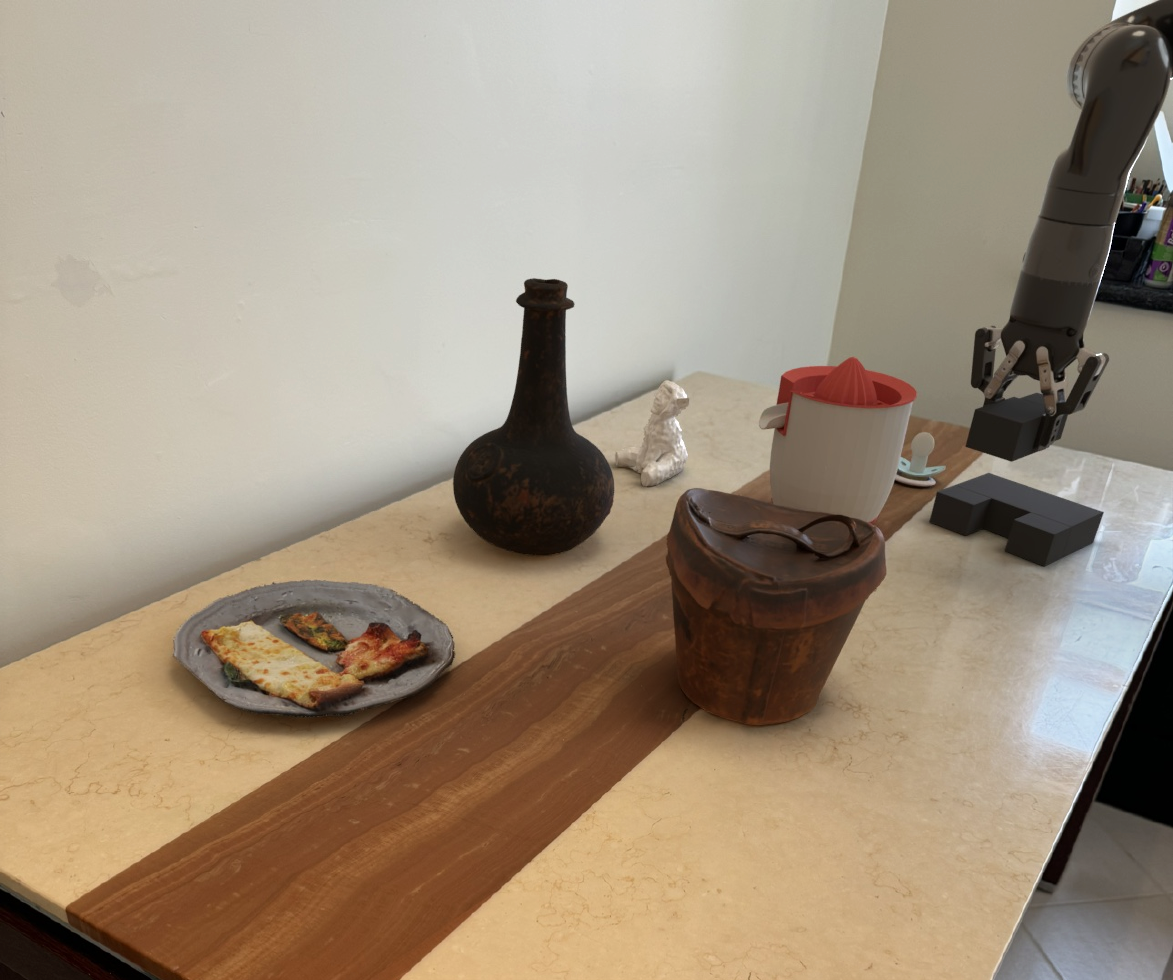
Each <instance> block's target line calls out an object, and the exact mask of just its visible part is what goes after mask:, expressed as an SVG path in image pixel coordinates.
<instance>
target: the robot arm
mask: <svg viewBox="0 0 1173 980" xmlns="http://www.w3.org/2000/svg"><path fill="white" fill-rule="evenodd" d="M1172 79H1173V0H1155V1H1152V2H1151V3H1148V4H1146V5H1144V6H1141V7H1138V8H1137V9H1135V10H1133V11H1130V12H1128V13H1125V14H1124V15H1121V16H1120V17H1119V16H1118V17H1117V18H1115V19H1113V20H1111V21H1110V22H1108V23H1106V24H1104V25H1102V26H1101V27H1099V28H1098V29H1096V30H1094V31H1093V32H1091V34H1089V35H1088V36H1087V37H1086V38H1085V39H1084V40H1083V41H1082V42H1081V43H1080V44H1079V45H1078V46H1077V49H1076V50H1075V51H1074V53H1073V55H1072V56H1071V58H1070V61H1069V63H1068V66H1067V70H1066V76H1065V86H1066V87H1065V88H1066V91H1067V95H1068V96H1069V99H1070V100H1071V102H1072V103H1073V104H1074V105H1075V106H1076V107H1077V108H1078V109H1079V110H1081V111H1080V114H1079V117H1078V120H1077V123H1076V125H1075V129H1074V131H1073V135H1072V137H1071V140H1070V142H1069V144H1068V146H1067V147H1066V148H1065V149H1063V150H1061V152H1059V154H1058V155H1057V156H1056V158H1055V159H1054V161H1053V164H1052V166H1051V169H1050V172H1049V174H1048V178H1047V182H1046V185H1045V189H1044V193H1043V197H1042V201H1041V204H1040V208H1039V212H1038V215H1037V219H1036V221H1035V224H1034V227H1033V229H1032V231H1031V234H1030V237H1029V239H1028V243H1027V246H1026V249H1025V253H1024V254H1023V257H1022V264H1021V269H1020V273H1019V276H1018V279H1017V284H1016V287H1015V291H1014V294H1013V298H1012V302H1011V307H1010V311H1009V319H1008V321H1007V323H1006V324H1005V325H1004V326H1003V327H997V326H996V325H988V326H984V327H981V328H978V329H976V331H975V333H974V341H973V353H972V354H973V355H972V363H971V376H970V386H971V387H972V388H973V389H978V390H979V391H980V392H982V394H983V395H984V401H983V404H982V407H984V406H987V405H990V404H993V403H996V402H999V401H1002V400H1005V399H1006V397H1003V396H1004V394H1005V393H1006V392H1007V391H1008V389H1009V388H1010V386H1011V385H1012V383H1013V382H1014V381H1015V380H1016V379H1017V378H1018V377H1020V376H1021V377H1022V376H1028V377H1029V378H1031V379H1033V380H1034V381H1038V382H1039V389H1040V394H1043V396H1044V408H1045V414H1043V415H1042V416H1041V417H1042V418H1041V421H1040V425H1039V428H1038V432H1037V435H1036V438H1035V442H1034V445H1033V450H1036V451H1038V452H1042V451H1045V450H1047V449H1048V448H1049V447H1050V446H1052V445H1054V443H1055V442H1056V441H1055V439H1056V436H1057V433H1058V429H1059V426H1060V423H1061V419H1062V417H1063V415H1064V414H1067V415H1068V416H1069V415H1072V414H1075V413H1078V412H1081V411H1083V410H1084V409H1085V408H1086V406H1087V404H1088V402H1089V400H1090V399H1091V397H1092V395H1093V393H1094V391H1095V389H1096V387H1097V386H1098V383H1099V381H1100V379H1101V377H1102V375H1103V373H1104V372H1105V369H1106V367H1107V365H1108V364H1109V362H1110V356H1109V354H1108V353H1106V352H1102V353H1101V352H1100V353H1097V352H1094V351H1092V350H1091V349H1088V348H1086V347H1085V340H1084V335H1085V330H1086V328H1087V326H1088V323H1089V321H1090V317H1091V313H1092V310H1093V307H1094V304H1095V300H1096V298H1097V294H1098V291H1099V287H1100V285H1101V280H1102V277H1103V274H1104V270H1105V268H1106V267H1105V266H1106V264H1107V261H1108V257H1109V253H1110V250H1111V245H1112V240H1113V234H1114V229H1115V224H1116V223H1117V218H1118V216H1119V212H1120V208H1121V205H1122V203H1123V198H1124V195H1125V192H1126V188H1127V185H1128V180H1129V177H1130V173H1131V171H1132V169H1133V167H1134V165H1135V163H1136V161H1137V160H1138V158H1139V156H1140V154H1141V153H1142V150H1143V149H1144V147H1145V145H1146V142H1147V140H1148V138H1149V136H1150V134H1151V131H1152V130H1153V128H1154V126H1155V123H1156V122H1157V119H1158V117H1159V115H1160V113H1161V110H1162V108H1163V106H1164V103H1165V100H1166V98H1167V95H1168V91H1169V87H1170V84H1171V80H1172ZM1001 344H1002V347H1003V350H1004V353H1005V358H1004V359H1003V360H1002V362H1001V363H1000V365H999V366H998V367H997V368H996V371H995V361H996V352H997V351H996V349H998V348H999V346H1000V345H1001ZM1076 360H1077V361H1078V365H1077V369H1076V370H1077V372H1078V373H1079V374H1078V376H1077V378H1076V380H1075V382H1074V384H1073V386H1072V388H1071V390H1070V392H1069V394H1067V388H1068V385H1069V380H1068V379H1069V378H1068V377H1069V375H1068V367H1069V366H1070V365H1071V364H1072V363H1073V362H1075V361H1076ZM1067 395H1068V396H1067ZM1048 446H1049V447H1048ZM1047 447H1048V448H1047Z"/></svg>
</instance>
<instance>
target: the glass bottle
mask: <svg viewBox="0 0 1173 980" xmlns="http://www.w3.org/2000/svg"><path fill="white" fill-rule="evenodd" d="M523 286H524V292H522V293H520V294H519V295H518V296H517V297H516V299H515V302H516V304H517V305H518V306H519V307H521V308H522V309H523V316H522V317H523V318H522V331H521V339H520V352H519V360H518V368H517V374H516V381H515V387H514V392H513V397H512V401H511V405H510V407H509V411H508V415H507V417H506V419H505V421H504V422H503V424H502V425H501V426H499V427H498V428H495V429H493V430H490V431H487V432H486V433H484V434H482V435H480V436H479V437H477V438H475V439H474V440H473V441H471V443H469V444H468V445H467V447H466V448H465V449H464V450H463V451H462V453H461V454H460V456H459V458H458V460H457V463H456V465H455V468H454V472H453V477H452V489H453V496H454V501H455V504H456V507H457V509H458V511H459V515H460V516H461V517H462V518H463V520H464V521H465V523H466V524H467V525H468V526H469V528H470V529H471V530H472V531H473V532H474V534H476V535H477V536H479V537H480V538H481V539H482V540H484V541H485V542H487V543H488V544H491V545H493V546H495V547H498V548H499V549H502V550H505V551H507V552H512V553H515V554H519V555H525V556H535V557H545V556H546V557H548V556H553V555H559V554H563V553H565V552H569V551H571V550H573V549H574V548H576V547H578V546H580V545H582V544H583V543H584V542H586V540H588V539H590V538H591V537H592V536H593V535H594V534H595V533H596V532H597V531H598V530H599V528H600V527H601V526H602V525H603V523H604V521H605V520H606V519H607V517H608V515H610V514H611V511H612V507H613V505H614V501H615V500H614V497H615V479H614V474H613V470H612V467H611V465H610V463H609V461H608V459H607V458H606V455H604V453H603V452H602V451H601V449H599V447H597V445H595V444H594V443H593V442H592V441H590V440H589V439H587V438H586V437H584V436H583V435H581V434H579V433H578V432H577V431H575V429H574V427H573V424H572V421H571V416H570V409H569V400H568V399H569V398H568V388H567V364H566V363H567V361H566V360H567V350H566V348H567V347H566V345H567V343H566V339H567V338H566V334H567V333H566V330H567V329H566V326H567V325H566V324H567V323H566V322H567V320H566V319H567V310H571V309H573V308H575V301H574V300H572V299H571V298H569V297H567V296H568V295H567V294H568V287H569V285H568V283H567V282H566V281H564V280H560V279H557V278H549V279H543V278H535V277H532V278H528V279H525V280H524V281H523Z"/></svg>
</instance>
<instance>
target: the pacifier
mask: <svg viewBox="0 0 1173 980" xmlns="http://www.w3.org/2000/svg"><path fill="white" fill-rule="evenodd" d="M934 448H935V439H934V437H933V435H932V434H931V433H929V432H927V431H923V432H919V433H918V434H916V435H915V436H914V437H913V439H912V441H911V444H910V450H911V452H912V454H911V459H910V461H909V460H908V459H906V458H904V457H902V456H901V457H900V462H899V466H898V470H897V473H896V477H895V480H894V481H896V482H899V483H902V484H905V485H909V486H916V487H932V486H935V485H936V480H935V479H934V478H933V477H932V476H935V475H938V474H940V473H942V472H944V471H945V470H946V468H947V466H946V465H937V466H928V467H927V463H928V460H929V459H928V458H929V456H930V455H931V453H932V452H933V450H934Z"/></svg>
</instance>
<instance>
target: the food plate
mask: <svg viewBox="0 0 1173 980" xmlns="http://www.w3.org/2000/svg"><path fill="white" fill-rule="evenodd" d="M190 615H191V616H190V617H188V619H185V620H184V622H183V623H182V624H181V625H180V626H179V628H178V629H177V630H176V632H175V635H174V637H173V640H172V643H173V654H172V657H173V658H175V659H176V660H177V661H178V663H180V664H181V665H182V666H183V667H185V668H186V669H187V671H188V672H190V673H191V675H192V676H194V677H195V678H196V679H197V680H198V681H199V682H200V683H201V684H204V685H205V687H206V688H208V690H210V691H211V692H213V693H214V694H215V695H216V696H217V697H218V698H219V699H220V700H221V701H223V702H225V703H226V704H229V705H231V706H233V707H235V708H236V709H239V710H244V711H245V712H249V713H253V714H254V713H255V714H259V715H267V716H270V715H273V716H282V717H285V716H287V717H294V718H297V717H299V718H304V719H305V718H308V719H310V718H314V719H315V718H316V719H317V718H321V717H326V716H327V717H329V716H332V717H333V716H337V717H340V716H343V717H344V716H348V715H350V714H355V713H358V712H361V711H366V710H370V709H373V708H377V707H379V706H384V705H386V704H390V703H393V702H396V701H398V700H403V699H408V698H413V697H414V695H417V694H418V693H419V694H420V693H422V691H424V690H426V689H428V688H429V687H430V686H431V685H432V684H434V683H435V682H436V681H437V679H438V678H439V677H440V675H441V674H442V673H443V672H445V670H446V669H448V668H449V667H451V666H452V665H453V663H454V660H455V658H456V651H455V641H454V636H453V634H452V632H451V631H450V628H449V626H448V625H447V623H445V622H444V621H443V620H442V619H440V618H438V617H436V616H435V615H434V614H432V613H430V612H429V611H428V610H426V609H424V608H423V607H421V606H420V605H418V604H417V603H415V602H414V601H412V600H410V599H408V598H407V597H406V596H405V595H404V596H403V595H402V594H398V591H395V590H393V588H392V589H391V588H386V587H384V586H380V585H377V584H372V583H361V582H358V581H351V582H347V581H332V580H327V579H324V580H320V579H313V580H310V579H305V580H304V579H302V580H290V581H286V582H285V581H284V582H275V581H273V582H271V583H270V584H264V585H262V586H261V585H257V586H254V587H250V588H249V589H248V588H247V589H245V590H241V591H239V592H237V593H234V594H231V595H229V594H227V595H226V596H224V597H219V598H216V599H215V600H213V601H212V602H210V603H209V604H208V605H206V606H205V607H203V608H202V609H200V610H199V611H197V612H195V613H193V614H190Z"/></svg>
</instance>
